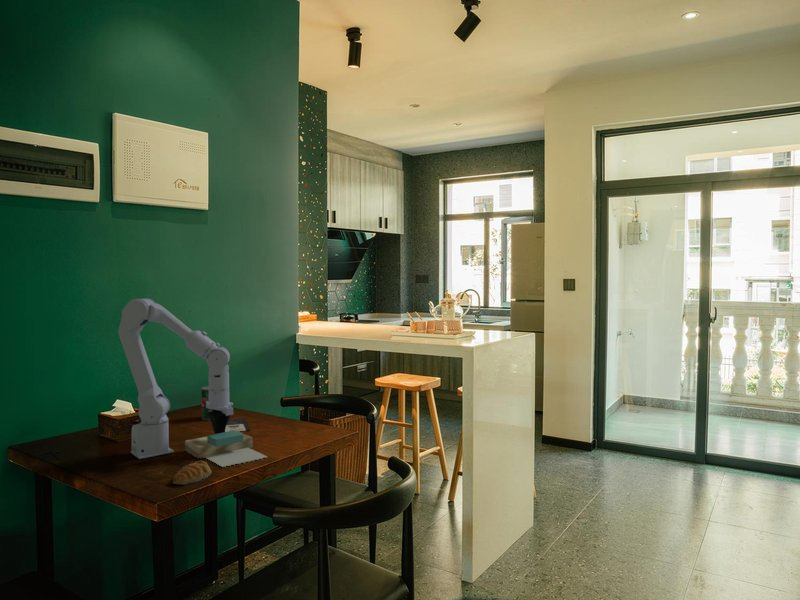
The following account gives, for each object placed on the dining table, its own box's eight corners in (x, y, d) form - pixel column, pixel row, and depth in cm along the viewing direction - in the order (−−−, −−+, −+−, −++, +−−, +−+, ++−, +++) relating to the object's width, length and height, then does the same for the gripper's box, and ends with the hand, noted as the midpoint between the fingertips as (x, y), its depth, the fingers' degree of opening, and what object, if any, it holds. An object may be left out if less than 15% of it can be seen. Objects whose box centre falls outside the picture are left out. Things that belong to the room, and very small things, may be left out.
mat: (222, 468, 146) (222, 466, 146) (204, 457, 155) (204, 456, 155) (267, 458, 155) (267, 456, 155) (248, 448, 164) (248, 447, 164)
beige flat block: (198, 458, 154) (198, 447, 154) (185, 450, 162) (185, 440, 162) (252, 447, 165) (252, 437, 165) (237, 440, 172) (237, 431, 172)
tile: (216, 446, 155) (216, 439, 155) (207, 442, 160) (207, 435, 160) (243, 441, 161) (243, 434, 161) (233, 437, 165) (233, 430, 165)
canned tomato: (229, 417, 204) (228, 387, 204) (209, 421, 198) (208, 390, 198) (217, 414, 209) (216, 384, 209) (197, 418, 203) (197, 387, 203)
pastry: (187, 488, 132) (187, 472, 132) (164, 485, 135) (164, 469, 134) (213, 475, 141) (213, 460, 141) (192, 473, 143) (191, 458, 143)
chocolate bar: (244, 417, 201) (250, 429, 184) (244, 420, 201) (250, 432, 184) (218, 420, 197) (221, 432, 181) (218, 422, 197) (221, 435, 181)
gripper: (243, 391, 160) (243, 438, 160) (221, 384, 171) (222, 429, 171) (219, 394, 155) (219, 443, 156) (198, 387, 166) (199, 433, 167)
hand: (219, 436), depth 163 cm, fingers closed
